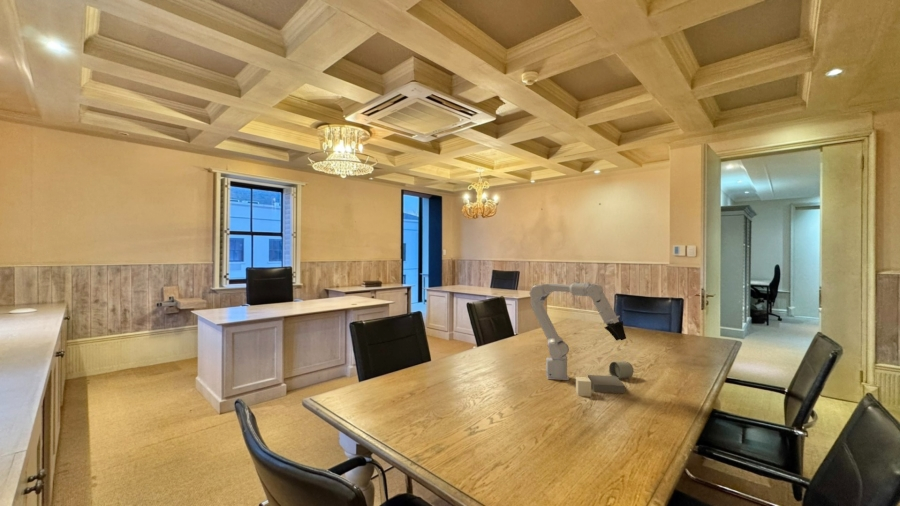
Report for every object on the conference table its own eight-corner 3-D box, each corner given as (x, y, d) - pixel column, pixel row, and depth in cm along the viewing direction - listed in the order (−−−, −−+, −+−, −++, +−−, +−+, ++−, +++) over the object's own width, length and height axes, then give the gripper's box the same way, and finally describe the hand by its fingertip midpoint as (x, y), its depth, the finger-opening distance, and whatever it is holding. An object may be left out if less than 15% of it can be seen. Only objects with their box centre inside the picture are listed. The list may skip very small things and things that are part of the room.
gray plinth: (594, 391, 152) (594, 384, 152) (587, 381, 164) (587, 374, 164) (624, 393, 151) (624, 385, 151) (616, 383, 162) (616, 376, 162)
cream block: (578, 395, 148) (578, 380, 148) (575, 391, 153) (575, 376, 153) (591, 396, 147) (591, 381, 147) (588, 391, 152) (588, 377, 152)
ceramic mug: (635, 379, 167) (634, 362, 168) (620, 381, 165) (620, 363, 165) (617, 372, 178) (617, 356, 178) (603, 374, 175) (603, 358, 175)
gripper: (618, 304, 150) (635, 335, 146) (609, 307, 164) (625, 336, 160) (602, 311, 151) (619, 342, 147) (595, 313, 165) (610, 342, 161)
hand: (621, 339), depth 154 cm, fingers open, 7 cm apart
